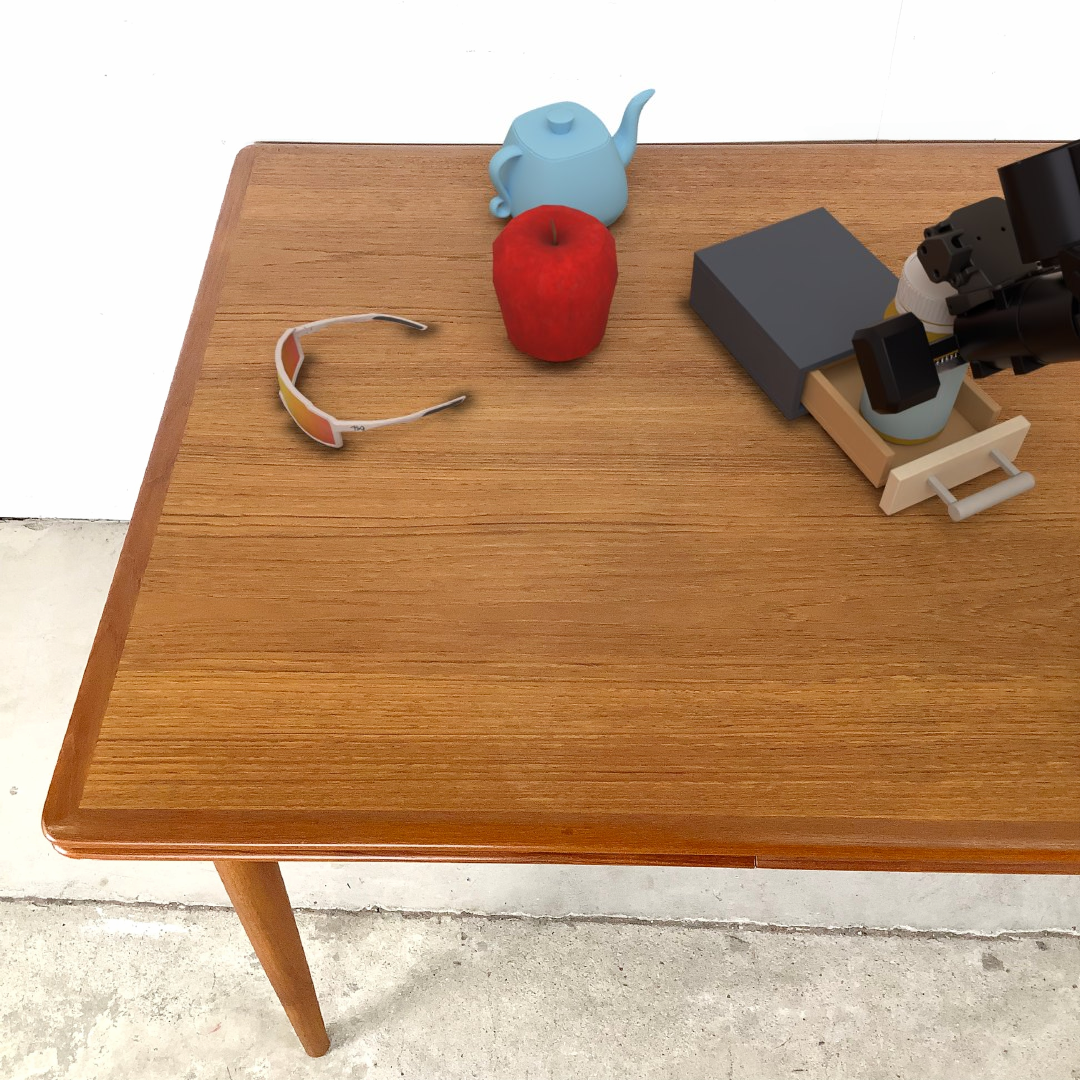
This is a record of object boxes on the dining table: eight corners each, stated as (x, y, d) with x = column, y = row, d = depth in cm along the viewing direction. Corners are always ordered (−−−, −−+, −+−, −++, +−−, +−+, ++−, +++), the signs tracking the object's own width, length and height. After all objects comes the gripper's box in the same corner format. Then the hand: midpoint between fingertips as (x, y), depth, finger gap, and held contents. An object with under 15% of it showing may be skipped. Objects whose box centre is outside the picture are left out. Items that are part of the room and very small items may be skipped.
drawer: (1050, 496, 88) (1069, 460, 85) (921, 555, 85) (935, 520, 82) (896, 342, 99) (908, 305, 95) (777, 389, 96) (784, 352, 92)
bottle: (840, 404, 93) (878, 258, 81) (911, 378, 95) (958, 231, 83) (889, 461, 89) (936, 316, 77) (962, 433, 91) (1019, 287, 79)
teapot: (689, 115, 104) (514, 173, 99) (681, 212, 112) (520, 269, 108) (621, 52, 111) (455, 104, 106) (618, 148, 119) (465, 199, 115)
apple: (499, 387, 98) (488, 264, 88) (498, 309, 105) (488, 184, 94) (619, 382, 98) (623, 258, 87) (611, 303, 104) (614, 178, 94)
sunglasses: (260, 363, 101) (255, 319, 97) (419, 332, 106) (420, 289, 102) (304, 472, 93) (301, 428, 89) (473, 432, 98) (477, 390, 94)
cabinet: (920, 368, 98) (938, 315, 93) (788, 421, 95) (799, 369, 90) (812, 259, 107) (823, 206, 102) (688, 304, 104) (693, 251, 99)
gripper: (1136, 153, 73) (978, 204, 88) (900, 240, 68) (775, 278, 83) (1176, 318, 75) (1015, 340, 90) (949, 413, 70) (819, 420, 85)
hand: (908, 341), depth 87 cm, fingers open, 9 cm apart
